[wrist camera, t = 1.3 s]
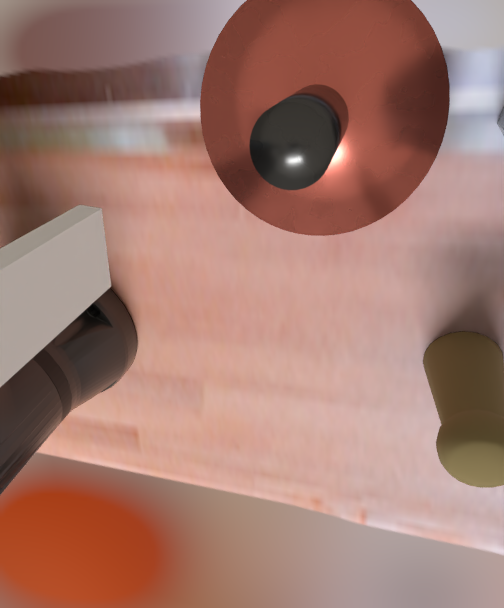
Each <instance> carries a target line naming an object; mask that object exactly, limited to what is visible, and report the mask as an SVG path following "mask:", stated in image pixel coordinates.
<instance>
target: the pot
mask: <svg viewBox="0 0 504 608" xmlns="http://www.w3.org/2000/svg"><path fill="white" fill-rule="evenodd" d="M497 124H498V126H499V127H500V129H501V131H502V133H503V135H504V107H503V110H502V112H501V115H500V118H499V120H498V123H497Z"/></svg>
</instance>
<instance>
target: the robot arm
mask: <svg viewBox="0 0 504 608" xmlns="http://www.w3.org/2000/svg"><path fill="white" fill-rule="evenodd" d="M110 287H111V279H110V271H109V263H108V255H107V247H106V239H105V231H104V223H103V215H102V208H97V207H91V206H85V205H78V206H76V207H74V208H72V209H71V210H69V211H67V212H65V213H63V214H62V215H60V216H58V217H56V218H54V219H53V220H51V221H49V222H47V223H45V224H44V225H42V226H40V227H38V228H36V229H35V230H33V231H31V232H29V233H27V234H26V235H24V236H22V237H20V238H18V239H17V240H15V241H13V242H11V243H9V244H8V245H6V246H4V247H2V248H0V494H1V493H2V492H3V491H4V489H6V487H7V486H8V485H9V484H10V482H11V481H12V480H13V479H14V478H15V477H16V475H17V474H18V473H19V472H20V471H21V469H22V468H23V467H24V466H25V465H26V463H27V462H28V461H29V460H30V458H31V457H32V456H33V455H34V454H35V453H36V451H37V450H38V449H39V448H40V447H41V445H42V444H43V443H44V442H45V441H46V439H47V438H48V437H49V436H50V435H51V433H52V432H53V431H54V430H55V429H56V427H57V426H58V425H59V424H60V423H61V422H62V420H63V419H64V418H65V417H66V416H67V415H68V413H69V412H70V411H71V410H73V409H75V408H76V407H78V406H79V405H81V404H83V403H84V402H86V401H88V400H89V399H91V398H92V397H94V396H95V395H97V394H98V393H100V392H103V391H105V390H107V389H109V388H111V387H112V386H114V385H115V384H116V383H117V382H118V381H119V380H120V379H121V378H122V377H123V375H124V374H125V373H126V371H127V370H128V369H129V368H130V366H131V365H132V363H133V361H134V359H135V356H136V351H137V337H136V332H135V328H134V325H133V322H132V320H131V318H130V316H129V314H128V312H127V310H126V308H125V307H124V305H123V304H122V302H121V301H120V300H119V298H118V297H117V296H116V295H115V294H114V292H113V291H112V290H111V289H110Z"/></svg>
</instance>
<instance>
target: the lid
mask: <svg viewBox="0 0 504 608" xmlns="http://www.w3.org/2000/svg"><path fill="white" fill-rule="evenodd" d="M200 109H201V124H202V132H203V136H204V140H205V144H206V149H207V151H208V154H209V157H210V159H211V162H212V164H213V166H214V168H215V170H216V172H217V174H218V176H219V178H220V179H221V181H222V182H223V184H224V185H225V187H226V188H227V189H228V190H229V192H230V193H231V194H232V195H233V196H234V198H235V199H236V200H237V201H238V202H239V203H240V204H242V205H243V206H244V207H245V208H246V209H247V210H248V211H250V212H251V213H252V214H254V215H255V216H257V217H258V218H260V219H262V220H263V221H265V222H267V223H269V224H271V225H273V226H275V227H278V228H280V229H283V230H286V231H290V232H294V233H298V234H305V235H323V236H325V235H335V234H341V233H346V232H350V231H354V230H357V229H359V228H362V227H365V226H367V225H369V224H371V223H373V222H375V221H377V220H379V219H381V218H383V217H384V216H386V215H387V214H389V213H390V212H392V211H393V210H394V209H396V208H397V207H398V206H399V205H400V204H401V203H403V202H404V201H405V200H406V199H407V198H408V197H409V196H410V195H411V194H412V193H413V191H414V190H415V189H416V188H417V187H418V186H419V184H420V183H421V181H422V180H423V179H424V177H425V176H426V174H427V173H428V171H429V169H430V168H431V166H432V164H433V162H434V160H435V158H436V156H437V154H438V151H439V148H440V146H441V143H442V141H443V137H444V133H445V129H446V125H447V120H448V112H449V79H448V72H447V65H446V62H445V58H444V55H443V51H442V48H441V46H440V43H439V41H438V39H437V37H436V35H435V32H434V30H433V28H432V27H431V25H430V24H429V22H428V21H427V19H426V17H425V16H424V15H423V13H422V12H421V11H420V10H419V8H417V6H416V5H415V4H414V3H413V2H412V1H411V0H247V1H246V2H244V4H242V5H241V6H240V8H239V9H238V10H237V11H236V12H235V13H234V14H233V16H232V17H231V18H230V19H229V21H228V22H227V24H226V25H225V27H224V28H223V30H222V31H221V33H220V34H219V36H218V38H217V41H216V42H215V44H214V46H213V49H212V51H211V53H210V56H209V59H208V62H207V65H206V68H205V73H204V77H203V82H202V89H201V100H200Z"/></svg>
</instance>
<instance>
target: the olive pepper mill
mask: <svg viewBox="0 0 504 608" xmlns="http://www.w3.org/2000/svg"><path fill="white" fill-rule="evenodd" d="M423 364H424V368H425V372H426V375H427V379H428V382H429V385H430V388H431V392H432V395H433V398H434V401H435V405H436V408H437V411H438V414H439V418H440V421H441V424H442V425H441V427H440V429H439V433H438V437H437V441H436V446H437V452H438V456H439V459H440V461H441V464H442V465H443V466H444V468H445V469H446V470H447V472H448V473H449V474H450V475H451V476H453V477H454V478H456V479H457V480H458V481H460V482H463V483H465V484H467V485H470V486H476V487H497V486H502V485H504V361H503V354H502V351H501V350H500V348H499V347H498V345H497V344H496V343H495V342H494V341H492V340H491V339H490V338H488V337H486V336H484V335H481V334H478V333H474V332H465V331H462V332H454V333H449V334H447V335H444V336H442V337H439V338H438V339H436V340H435V341H434V342H433V343H431V344H430V345H429V347H428V348H427V350H426V351H425V354H424V359H423Z"/></svg>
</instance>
